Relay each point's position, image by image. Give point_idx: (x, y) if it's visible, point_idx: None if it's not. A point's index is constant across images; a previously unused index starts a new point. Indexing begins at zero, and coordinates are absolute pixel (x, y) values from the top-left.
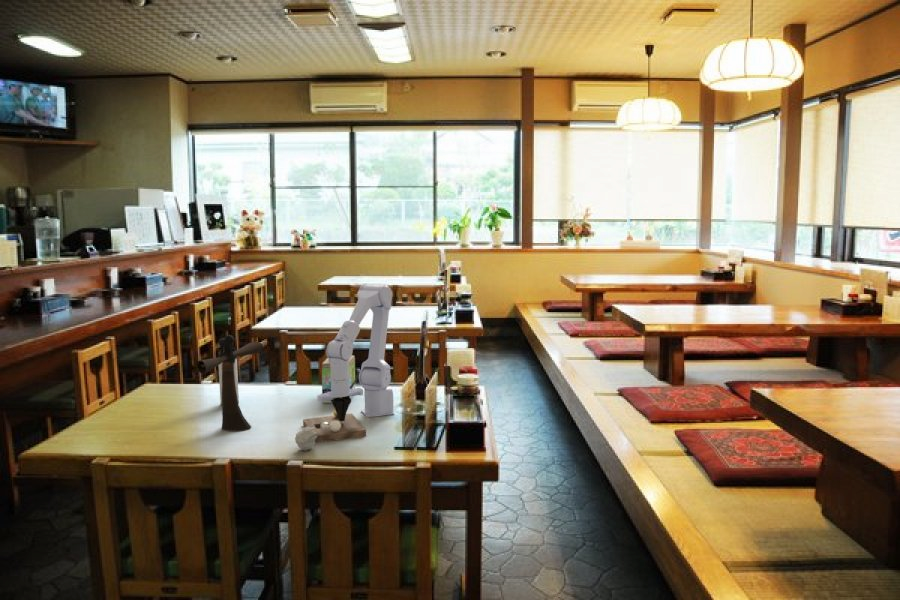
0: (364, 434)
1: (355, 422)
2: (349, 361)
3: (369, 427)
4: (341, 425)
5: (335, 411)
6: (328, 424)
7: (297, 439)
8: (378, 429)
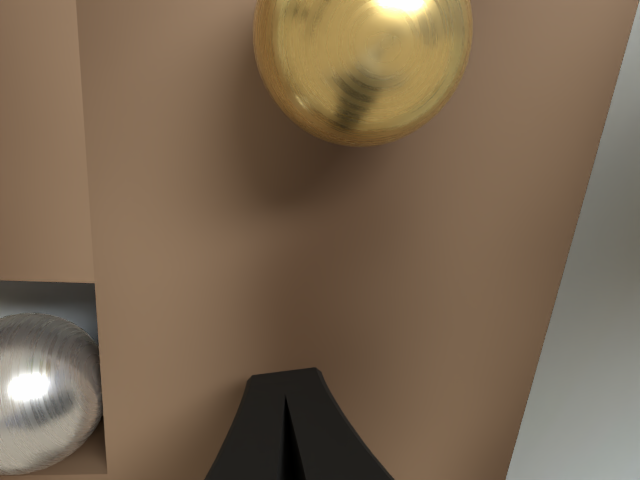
0: None
1: (468, 425)
2: None
3: (589, 388)
4: None
5: (288, 101)
6: (59, 458)
7: None
8: (626, 471)
